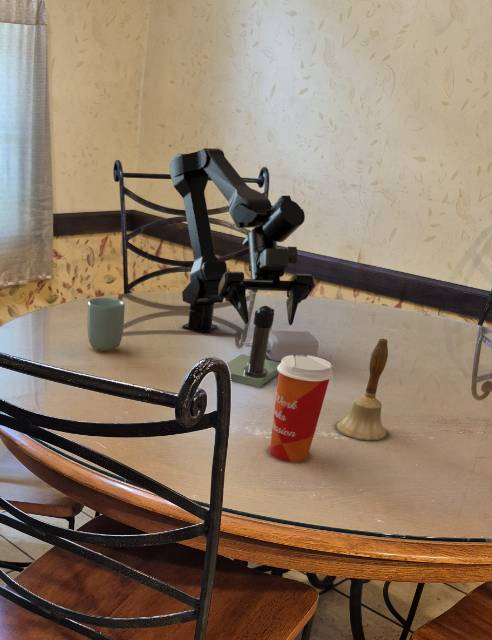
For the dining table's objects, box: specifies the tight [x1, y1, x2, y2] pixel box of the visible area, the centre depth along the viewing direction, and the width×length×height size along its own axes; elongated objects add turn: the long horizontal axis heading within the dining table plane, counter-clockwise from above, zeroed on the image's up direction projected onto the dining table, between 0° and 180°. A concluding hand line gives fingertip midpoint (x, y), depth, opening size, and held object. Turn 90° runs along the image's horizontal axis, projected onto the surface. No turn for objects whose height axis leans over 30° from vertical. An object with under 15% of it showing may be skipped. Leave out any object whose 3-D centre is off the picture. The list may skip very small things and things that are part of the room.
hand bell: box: [336, 338, 389, 442], centre depth 119 cm, size 8×8×16 cm
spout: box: [253, 305, 275, 331], centre depth 139 cm, size 10×4×6 cm, turn 162°
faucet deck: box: [227, 324, 281, 388], centre depth 143 cm, size 13×10×11 cm
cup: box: [86, 297, 126, 352], centre depth 153 cm, size 8×8×10 cm
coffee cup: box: [269, 355, 334, 463], centre depth 110 cm, size 8×8×15 cm
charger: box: [242, 330, 320, 362], centre depth 155 cm, size 5×9×15 cm
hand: (269, 323), depth 144 cm, fingers open, 9 cm apart
